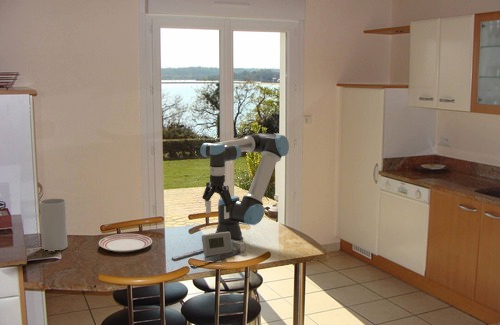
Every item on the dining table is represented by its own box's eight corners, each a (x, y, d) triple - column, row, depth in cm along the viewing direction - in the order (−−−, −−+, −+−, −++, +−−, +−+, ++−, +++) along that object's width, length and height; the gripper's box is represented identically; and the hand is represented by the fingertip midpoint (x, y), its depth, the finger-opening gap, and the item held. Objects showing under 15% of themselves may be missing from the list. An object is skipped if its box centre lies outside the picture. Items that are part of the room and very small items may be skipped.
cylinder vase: (71, 248, 289) (69, 201, 285) (46, 253, 281) (44, 205, 277) (62, 243, 299) (60, 197, 295) (38, 247, 291) (36, 200, 287)
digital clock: (203, 257, 279) (203, 237, 277) (199, 252, 287) (199, 232, 286) (234, 255, 284) (235, 235, 282) (230, 249, 292) (230, 230, 290)
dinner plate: (162, 246, 295) (162, 240, 295) (119, 259, 275) (119, 252, 275) (131, 236, 313) (131, 230, 313) (88, 247, 293) (88, 241, 292)
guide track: (171, 259, 275) (171, 249, 275) (222, 244, 300) (222, 235, 299) (194, 268, 264) (194, 258, 263) (244, 252, 288) (244, 242, 287)
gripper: (195, 172, 285) (195, 212, 288) (229, 179, 268) (229, 222, 271) (206, 170, 290) (206, 209, 294) (240, 177, 273) (239, 219, 277)
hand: (217, 215), depth 282 cm, fingers open, 13 cm apart
